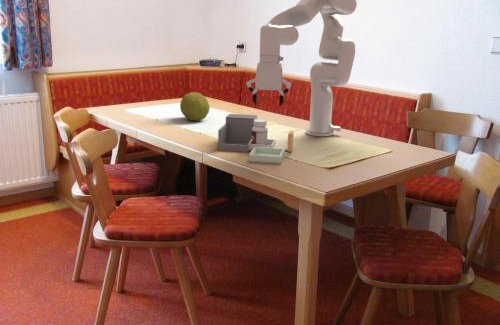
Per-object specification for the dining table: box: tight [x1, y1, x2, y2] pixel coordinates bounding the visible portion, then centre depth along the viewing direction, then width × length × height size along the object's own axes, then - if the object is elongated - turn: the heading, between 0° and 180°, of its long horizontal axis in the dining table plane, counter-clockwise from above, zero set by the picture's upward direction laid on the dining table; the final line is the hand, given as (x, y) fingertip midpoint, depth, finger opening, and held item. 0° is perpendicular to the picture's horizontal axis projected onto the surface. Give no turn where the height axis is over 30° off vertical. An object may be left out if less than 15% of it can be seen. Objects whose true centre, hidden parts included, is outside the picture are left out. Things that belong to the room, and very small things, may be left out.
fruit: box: [179, 91, 211, 122], centre depth 239 cm, size 16×14×15 cm
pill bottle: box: [252, 118, 269, 145], centre depth 190 cm, size 6×6×11 cm
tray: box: [248, 147, 286, 165], centre depth 178 cm, size 12×12×3 cm
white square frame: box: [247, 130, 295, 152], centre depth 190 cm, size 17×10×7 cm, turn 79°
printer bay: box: [217, 113, 258, 153], centre depth 195 cm, size 12×20×11 cm, turn 169°
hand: (268, 104), depth 186 cm, fingers open, 9 cm apart
